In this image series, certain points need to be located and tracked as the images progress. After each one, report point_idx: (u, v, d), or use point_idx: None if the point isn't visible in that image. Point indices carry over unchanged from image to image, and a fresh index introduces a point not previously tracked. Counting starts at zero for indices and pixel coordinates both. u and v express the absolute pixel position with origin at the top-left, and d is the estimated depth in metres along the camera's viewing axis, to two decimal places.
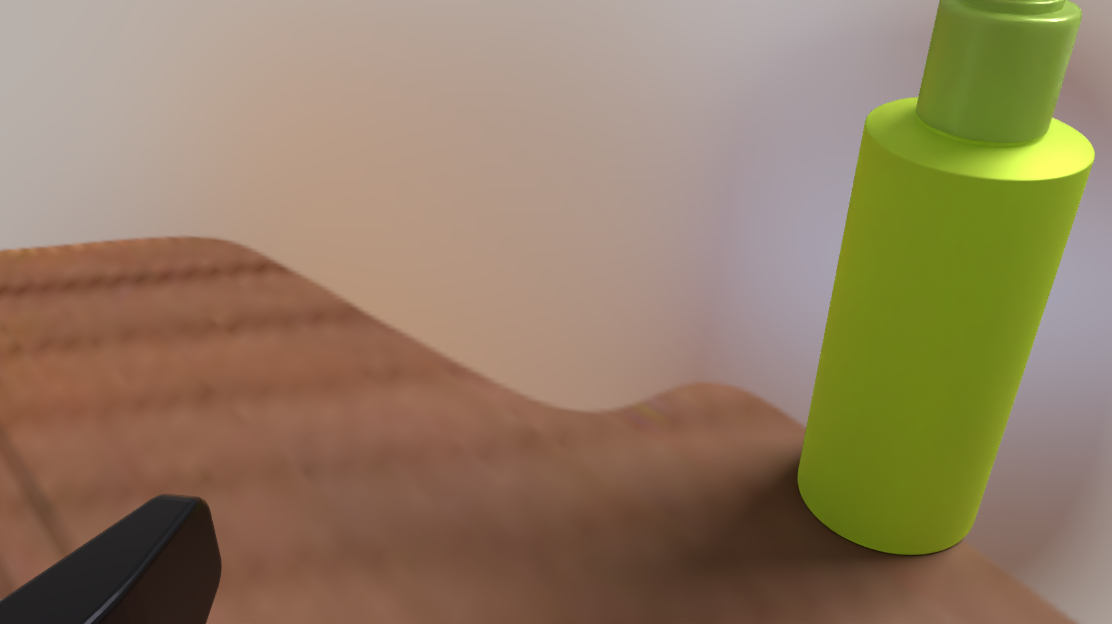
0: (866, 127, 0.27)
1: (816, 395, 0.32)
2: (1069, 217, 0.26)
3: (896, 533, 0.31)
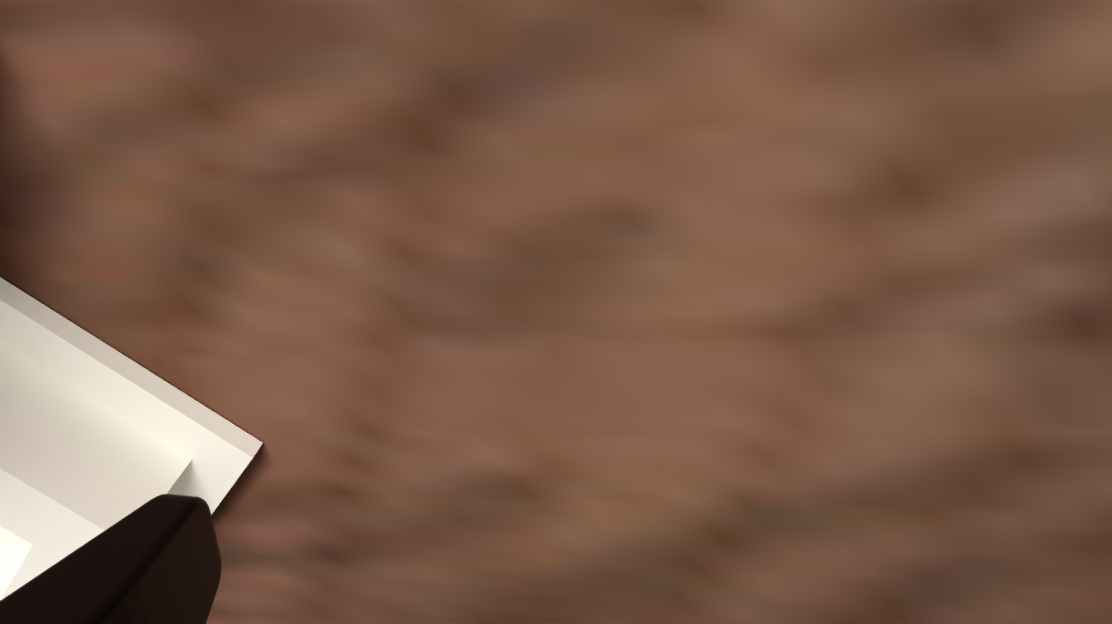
0: None
1: None
2: None
3: None
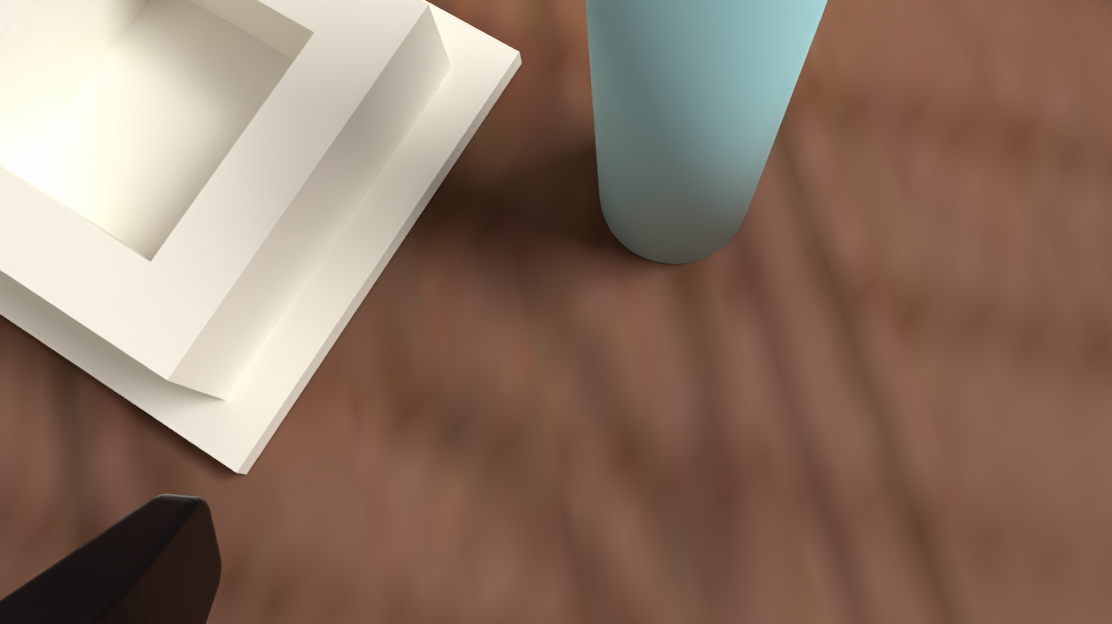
0: None
1: None
2: None
3: None
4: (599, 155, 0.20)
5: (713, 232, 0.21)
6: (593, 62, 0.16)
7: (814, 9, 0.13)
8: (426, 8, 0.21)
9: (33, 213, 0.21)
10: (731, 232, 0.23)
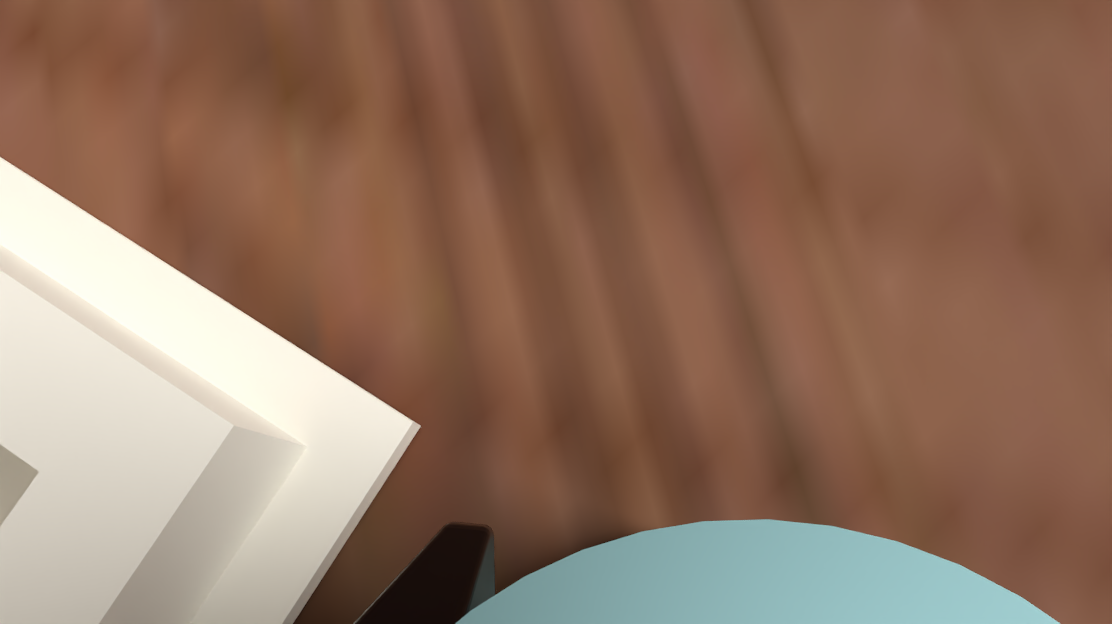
0: None
1: None
2: None
3: None
4: None
5: None
6: None
7: None
8: (230, 432, 0.12)
9: None
10: None
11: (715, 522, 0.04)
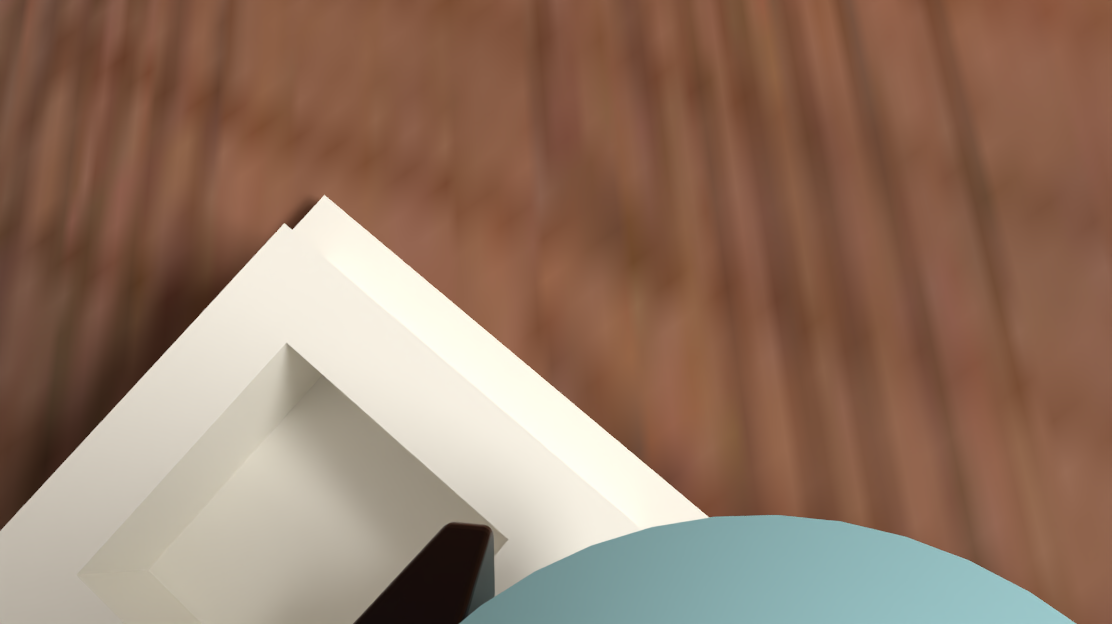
0: None
1: None
2: None
3: None
4: None
5: None
6: None
7: None
8: None
9: None
10: None
11: (725, 518, 0.04)
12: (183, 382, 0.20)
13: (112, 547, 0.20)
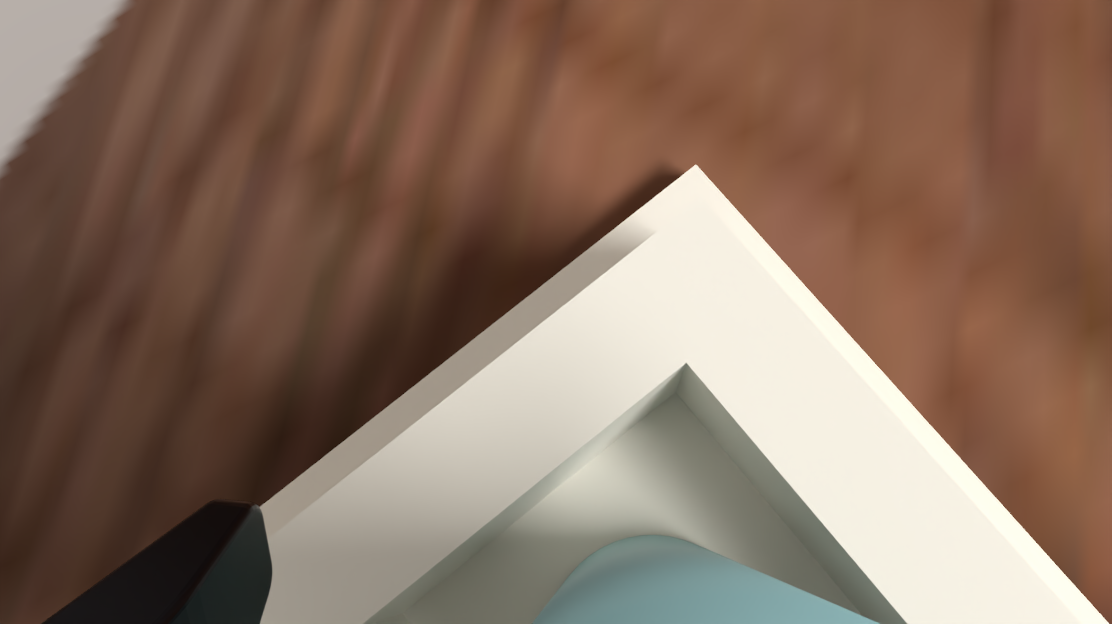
0: None
1: None
2: None
3: None
4: None
5: None
6: None
7: None
8: None
9: None
10: None
11: (703, 592, 0.05)
12: (535, 390, 0.14)
13: (401, 595, 0.14)
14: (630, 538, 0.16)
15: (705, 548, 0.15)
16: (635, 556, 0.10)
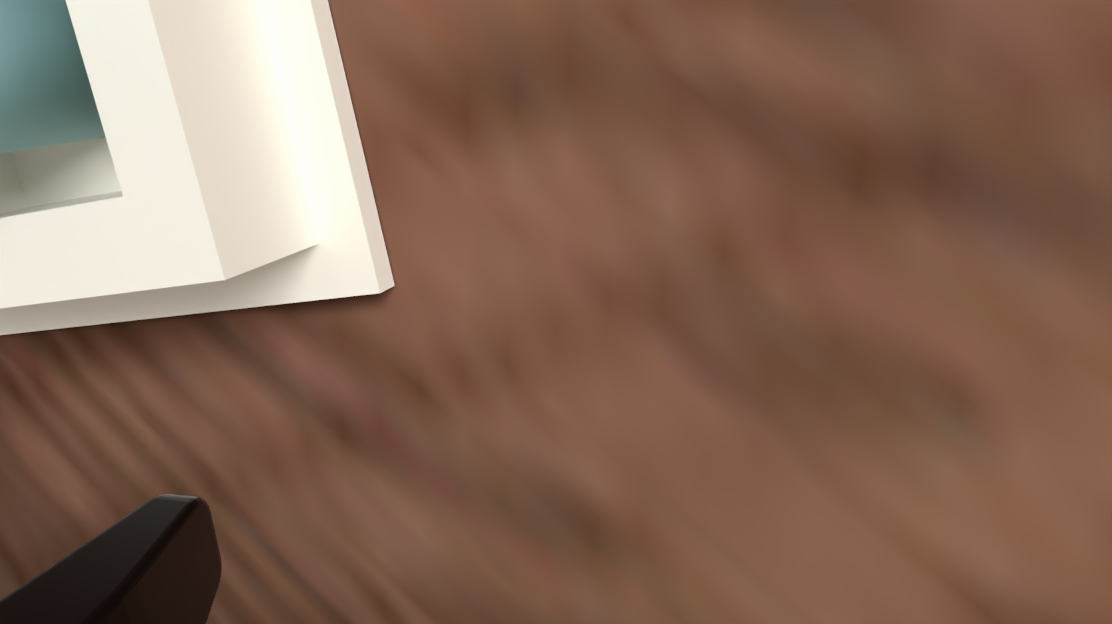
0: None
1: None
2: None
3: None
4: None
5: (75, 66, 0.19)
6: None
7: None
8: None
9: (22, 238, 0.20)
10: None
11: None
12: None
13: None
14: None
15: None
16: None
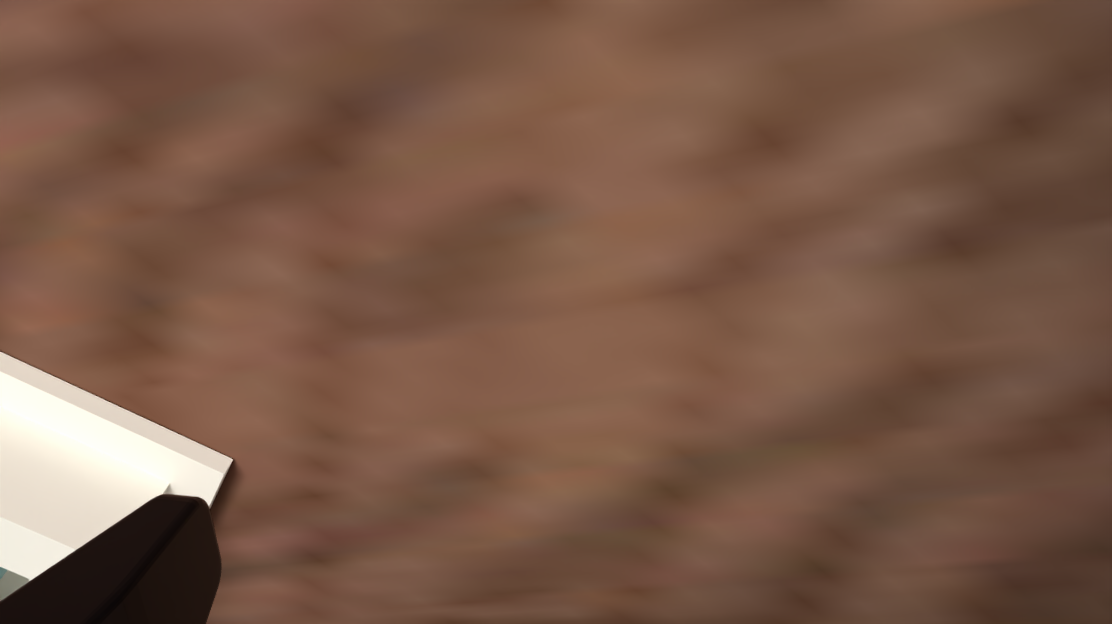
0: None
1: None
2: None
3: None
4: None
5: None
6: None
7: None
8: None
9: None
10: None
11: None
12: None
13: None
14: None
15: None
16: None
